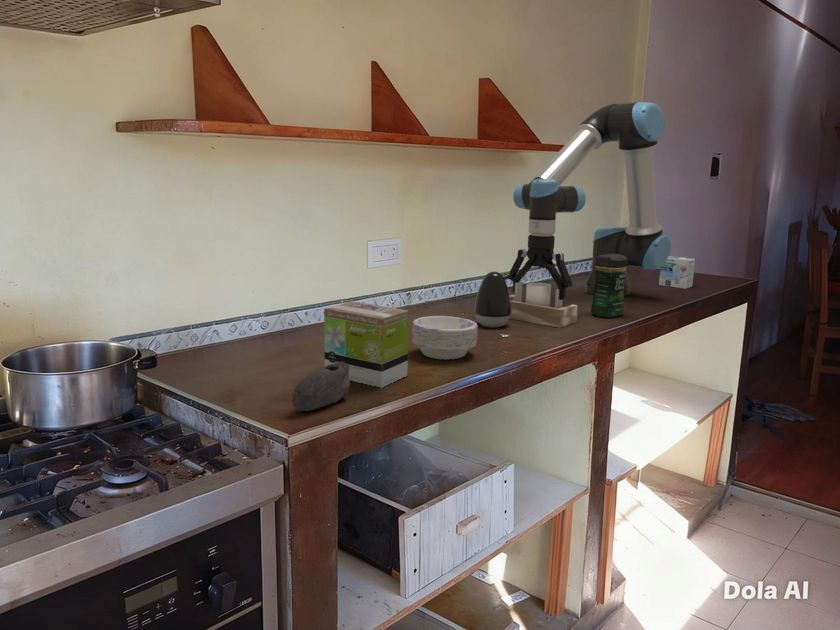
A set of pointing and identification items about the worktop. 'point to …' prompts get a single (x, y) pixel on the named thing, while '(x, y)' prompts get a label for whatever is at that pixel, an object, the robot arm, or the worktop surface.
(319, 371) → the perforated stone tool
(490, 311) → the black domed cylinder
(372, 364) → the tea box
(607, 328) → the worktop surface
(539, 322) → the rest cradle
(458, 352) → the paper bowls
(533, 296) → the white domed cylinder
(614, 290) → the coffee jar
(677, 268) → the light bulb box
